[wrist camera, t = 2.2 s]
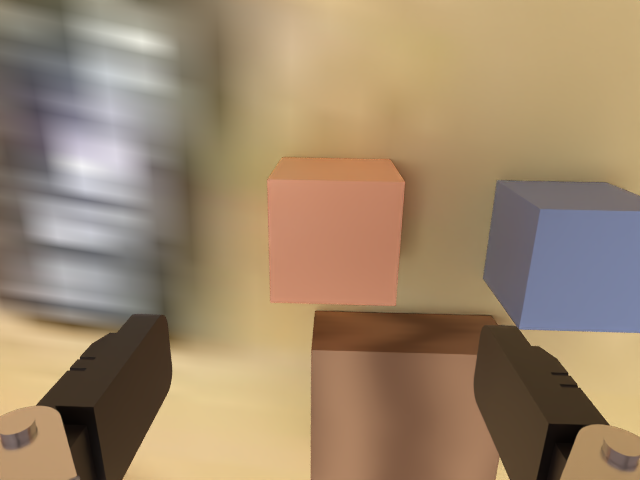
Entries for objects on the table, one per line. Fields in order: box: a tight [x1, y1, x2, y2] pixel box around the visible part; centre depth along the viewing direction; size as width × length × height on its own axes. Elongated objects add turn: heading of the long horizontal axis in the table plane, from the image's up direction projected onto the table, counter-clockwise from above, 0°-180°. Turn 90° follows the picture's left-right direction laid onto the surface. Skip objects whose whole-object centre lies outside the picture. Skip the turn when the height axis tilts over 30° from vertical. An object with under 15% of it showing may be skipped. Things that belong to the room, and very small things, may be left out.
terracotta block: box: [267, 157, 405, 306], centre depth 22 cm, size 6×6×6 cm
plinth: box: [311, 311, 500, 480], centre depth 26 cm, size 10×10×4 cm
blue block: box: [483, 180, 640, 333], centre depth 22 cm, size 6×6×6 cm
